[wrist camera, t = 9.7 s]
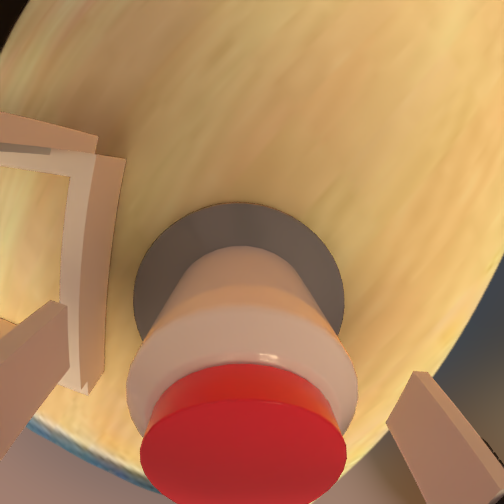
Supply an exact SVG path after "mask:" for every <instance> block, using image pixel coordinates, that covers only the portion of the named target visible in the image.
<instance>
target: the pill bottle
mask: <svg viewBox="0 0 504 504" xmlns="http://www.w3.org/2000/svg"><path fill="white" fill-rule="evenodd" d="M126 397H127V405H128V409H129V412H130V416H131V419H132V421H133V422H134V424H135V426H136V428H137V430H138V431H139V433H140V435H141V436H142V437H143V440H142V444H141V447H140V462H141V465H142V468H143V471H144V473H145V475H146V476H147V478H148V479H149V481H150V482H151V483H152V485H153V486H154V487H155V488H156V489H157V490H159V491H160V492H161V493H162V494H163V495H164V496H166V497H167V498H169V499H171V500H172V501H174V502H175V503H177V504H309V503H311V502H312V501H314V500H316V499H317V498H319V497H320V496H321V495H323V494H324V493H325V492H327V491H328V490H329V489H330V488H331V487H332V486H333V485H334V484H335V483H336V481H337V480H338V478H339V477H340V475H341V473H342V472H343V470H344V467H345V463H346V459H347V453H346V444H345V441H344V439H343V435H344V433H345V432H346V431H347V429H348V427H349V425H350V423H351V421H352V419H353V417H354V414H355V411H356V406H357V401H358V381H357V375H356V372H355V369H354V366H353V363H352V360H351V358H350V356H349V355H348V353H347V351H346V350H345V348H344V346H343V345H342V343H341V341H340V340H339V338H338V336H337V335H336V333H335V331H334V330H333V328H332V326H331V325H330V323H329V321H328V320H327V318H326V317H325V315H324V313H323V312H322V310H321V308H320V307H319V305H318V304H317V302H316V300H315V299H314V297H313V295H312V294H311V292H310V291H309V289H308V287H307V286H306V284H305V283H304V281H303V280H302V278H301V277H300V275H299V274H298V272H297V271H296V270H295V269H294V268H293V267H292V266H291V265H290V264H289V263H288V262H287V261H286V260H284V259H283V258H281V257H280V256H278V255H276V254H275V253H272V252H270V251H267V250H265V249H262V248H257V247H252V246H229V247H225V248H220V249H217V250H214V251H212V252H210V253H207V254H205V255H204V256H202V257H201V258H199V259H198V260H196V261H195V262H194V263H192V264H191V266H190V267H189V268H188V269H187V270H186V271H185V272H184V273H183V275H182V276H181V278H180V280H179V281H178V283H177V285H176V286H175V288H174V290H173V291H172V293H171V295H170V296H169V298H168V300H167V301H166V303H165V305H164V306H163V308H162V310H161V312H160V313H159V315H158V317H157V318H156V320H155V322H154V324H153V325H152V327H151V329H150V331H149V332H148V334H147V336H146V338H145V339H144V341H143V343H142V345H141V346H140V348H139V350H138V352H137V354H136V355H135V357H134V359H133V361H132V363H131V365H130V369H129V373H128V377H127V381H126Z"/></svg>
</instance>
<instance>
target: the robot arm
mask: <svg viewBox="0 0 504 504" xmlns="http://www.w3.org/2000/svg"><path fill="white" fill-rule="evenodd" d="M69 368H70V361H69V343H68V306H67V305H64V304H61V303H58V302H55V301H52V300H50V301H49V302H47V303H46V304H45V305H43V306H42V307H41V308H39V309H38V310H37V311H35V312H34V313H33V314H31V315H30V316H29V317H28V318H26V319H25V320H24V321H22V322H21V323H20V324H18V325H17V326H16V327H15V328H13V329H12V330H11V331H10V332H8V333H7V334H6V335H5V336H3V337H2V338H1V339H0V461H1V460H2V458H3V457H4V456H5V454H6V453H7V451H8V450H9V448H10V447H11V445H12V444H13V443H14V441H15V440H16V438H17V437H18V436H19V434H20V433H21V431H22V430H23V429H24V427H25V426H26V425H27V423H28V422H29V421H30V419H31V418H32V416H33V415H34V414H35V412H36V411H37V410H38V408H39V407H40V406H41V404H42V403H43V402H44V400H45V399H46V398H47V397H48V395H49V394H50V393H51V391H52V390H53V389H54V387H55V386H56V385H57V384H58V382H59V381H60V380H61V379H62V377H63V376H64V375H65V373H66V372H67V371H68V370H69ZM386 424H387V426H388V428H389V430H390V432H391V434H392V436H393V438H394V439H395V442H396V443H397V445H398V447H399V449H400V451H401V453H402V455H403V457H404V459H405V461H406V463H407V465H408V467H409V469H410V471H411V473H412V475H413V477H414V479H415V481H416V483H417V485H418V487H419V489H420V491H421V493H422V495H423V497H424V499H425V501H426V503H427V504H504V464H503V463H502V461H501V460H498V456H497V455H496V453H495V452H494V453H493V450H492V448H491V447H490V446H489V444H488V443H487V442H486V441H485V440H484V439H482V438H481V437H480V436H479V435H478V434H477V432H476V431H475V430H474V429H473V427H472V426H471V425H470V424H469V422H468V421H467V420H466V418H465V417H464V416H463V415H462V414H461V412H460V411H459V410H458V408H457V407H456V406H455V405H454V404H453V402H452V401H451V400H450V399H449V398H448V396H447V395H446V394H445V393H444V391H443V390H442V389H441V388H440V387H439V385H438V384H437V383H436V382H435V380H434V379H433V378H432V377H431V376H430V374H429V373H428V372H419V371H413V373H412V375H411V377H410V379H409V381H408V383H407V385H406V387H405V389H404V390H403V392H402V394H401V396H400V398H399V400H398V402H397V403H396V405H395V407H394V409H393V411H392V412H391V414H390V416H389V418H388V419H387V421H386Z"/></svg>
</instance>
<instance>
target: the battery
mask: <svg viewBox="0 0 504 504" xmlns="http://www.w3.org/2000/svg"><path fill="white" fill-rule="evenodd" d="M26 2H27V0H0V49H1V47H2V45H3V43H4V41H5V39H6V37H7V35H8V33H9V31H10V30H11V28H12V26H13V24H14V22H15V20H16V19H17V17H18V15H19V13H20V12H21V10H22V8H23V7H24V5H25V3H26Z"/></svg>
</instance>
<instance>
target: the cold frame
mask: <svg viewBox="0 0 504 504" xmlns="http://www.w3.org/2000/svg"><path fill="white" fill-rule="evenodd" d="M98 137H99V136H96V135H92V134H89V133H85V132H82V131H78V130H74V129H70V128H67V127H63V126H59V125H55V124H51V123H47V122H43V121H39V120H35V119H31V118H27V117H23V116H18V115H14V114H9V113H5V112H0V166H4V167H11V168H18V169H24V170H31V171H37V172H44V173H50V174H56V175H62V176H68V177H70V183H69V189H68V196H67V203H66V211H65V219H64V229H63V240H62V252H61V270H60V303H61V304H64V305H67V306H68V343H69V361H70V368H69V370H68V371H67V372H66V373H65V375H64V376H63V377H62V379H61V380H60V381H59V382H58V385H61V386H63V387H66V388H69V389H71V390H74V391H77V392H79V393H82V394H85V395H89V394H90V392H91V391H92V389H93V388H94V386H95V384H96V383H97V381H98V380H99V378H100V377H101V375H102V374H103V372H104V345H105V319H106V302H107V289H108V277H109V267H110V258H111V249H112V241H113V234H114V226H115V220H116V213H117V207H118V201H119V195H120V189H121V184H122V179H123V173H124V168H125V163H126V159H123V158H117V157H111V156H105V155H98V154H95V151H96V146H97V142H98ZM61 149H62V150H61ZM69 150H70V151H69ZM84 152H85V153H84ZM16 326H17V325H15V324H13V323H11V322H9V321H6V320H4V319H2V318H0V339H1V338H2V337H3V336H5V335H6V334H7V333H8V332H10V331H11V330H12V329H13V328H15V327H16Z"/></svg>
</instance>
